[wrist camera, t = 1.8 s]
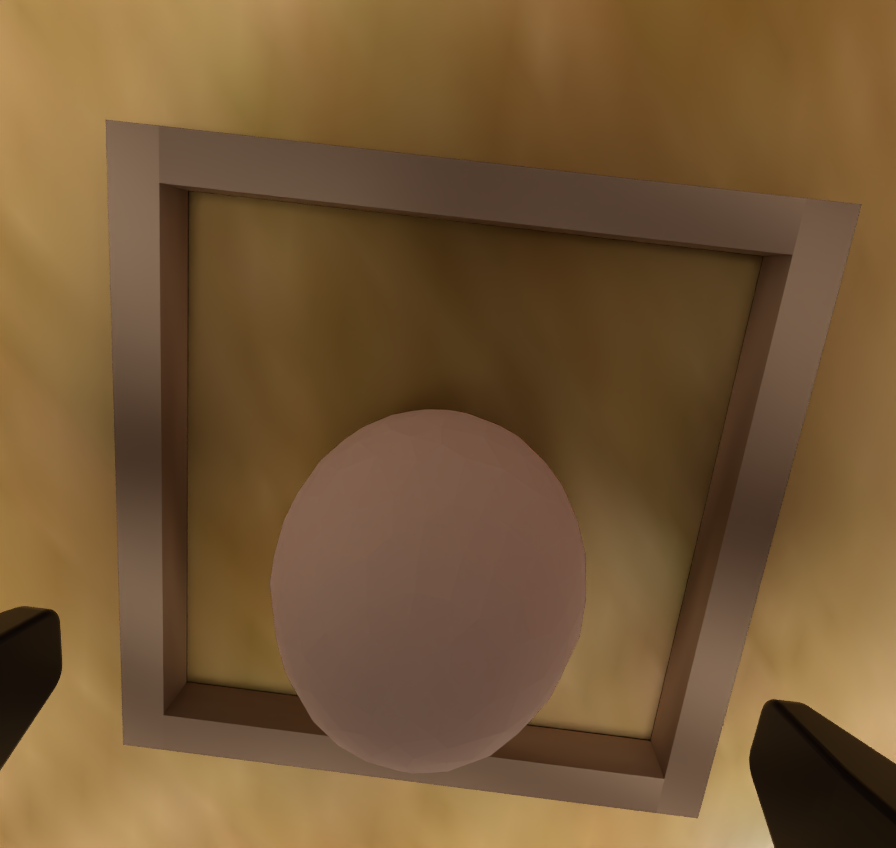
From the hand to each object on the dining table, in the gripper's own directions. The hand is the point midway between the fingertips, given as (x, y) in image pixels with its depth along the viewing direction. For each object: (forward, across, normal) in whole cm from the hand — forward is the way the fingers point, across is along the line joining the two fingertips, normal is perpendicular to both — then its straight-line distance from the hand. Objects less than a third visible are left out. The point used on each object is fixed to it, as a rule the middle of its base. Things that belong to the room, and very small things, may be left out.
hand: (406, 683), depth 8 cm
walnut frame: (+7, 0, 0) cm, 7 cm away
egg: (+7, 0, 0) cm, 7 cm away
